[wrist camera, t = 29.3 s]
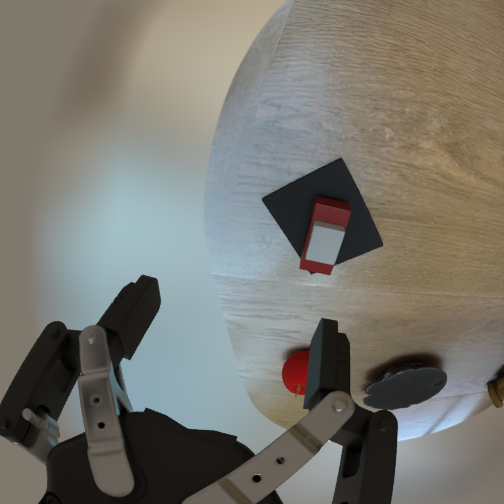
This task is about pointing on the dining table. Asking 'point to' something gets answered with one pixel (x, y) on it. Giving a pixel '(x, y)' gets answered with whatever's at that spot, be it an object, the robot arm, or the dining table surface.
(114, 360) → the robot arm
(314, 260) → the red and grey block
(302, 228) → the mat
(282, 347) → the dining table surface
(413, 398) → the board
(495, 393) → the yellow fluted pedestal
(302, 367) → the fruit
